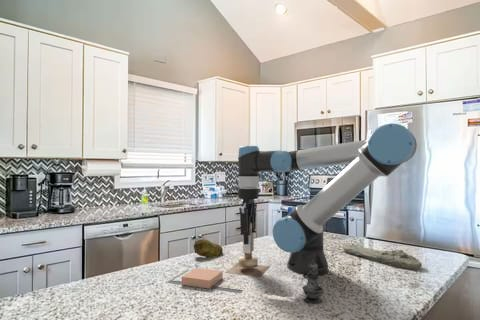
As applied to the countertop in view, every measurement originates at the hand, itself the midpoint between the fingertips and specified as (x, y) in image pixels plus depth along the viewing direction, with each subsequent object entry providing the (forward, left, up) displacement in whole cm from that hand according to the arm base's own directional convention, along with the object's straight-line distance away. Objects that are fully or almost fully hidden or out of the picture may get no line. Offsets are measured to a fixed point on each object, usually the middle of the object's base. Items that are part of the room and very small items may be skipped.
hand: (248, 251), depth 125 cm
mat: (+8, +15, -8) cm, 19 cm away
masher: (0, 0, -5) cm, 5 cm away
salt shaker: (-26, +18, -8) cm, 33 cm away
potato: (+22, -12, -8) cm, 26 cm away
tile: (+10, +12, -5) cm, 17 cm away
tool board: (0, 0, -8) cm, 8 cm away
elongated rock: (-46, -35, -8) cm, 58 cm away
